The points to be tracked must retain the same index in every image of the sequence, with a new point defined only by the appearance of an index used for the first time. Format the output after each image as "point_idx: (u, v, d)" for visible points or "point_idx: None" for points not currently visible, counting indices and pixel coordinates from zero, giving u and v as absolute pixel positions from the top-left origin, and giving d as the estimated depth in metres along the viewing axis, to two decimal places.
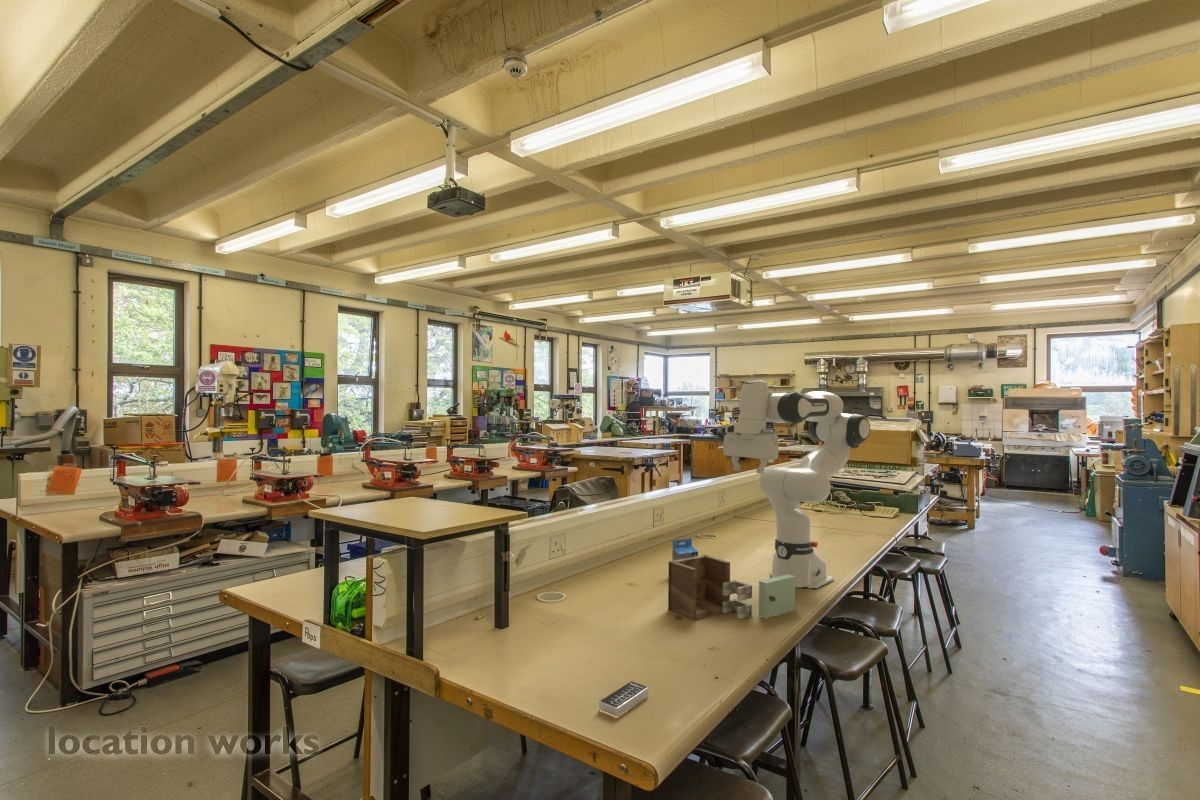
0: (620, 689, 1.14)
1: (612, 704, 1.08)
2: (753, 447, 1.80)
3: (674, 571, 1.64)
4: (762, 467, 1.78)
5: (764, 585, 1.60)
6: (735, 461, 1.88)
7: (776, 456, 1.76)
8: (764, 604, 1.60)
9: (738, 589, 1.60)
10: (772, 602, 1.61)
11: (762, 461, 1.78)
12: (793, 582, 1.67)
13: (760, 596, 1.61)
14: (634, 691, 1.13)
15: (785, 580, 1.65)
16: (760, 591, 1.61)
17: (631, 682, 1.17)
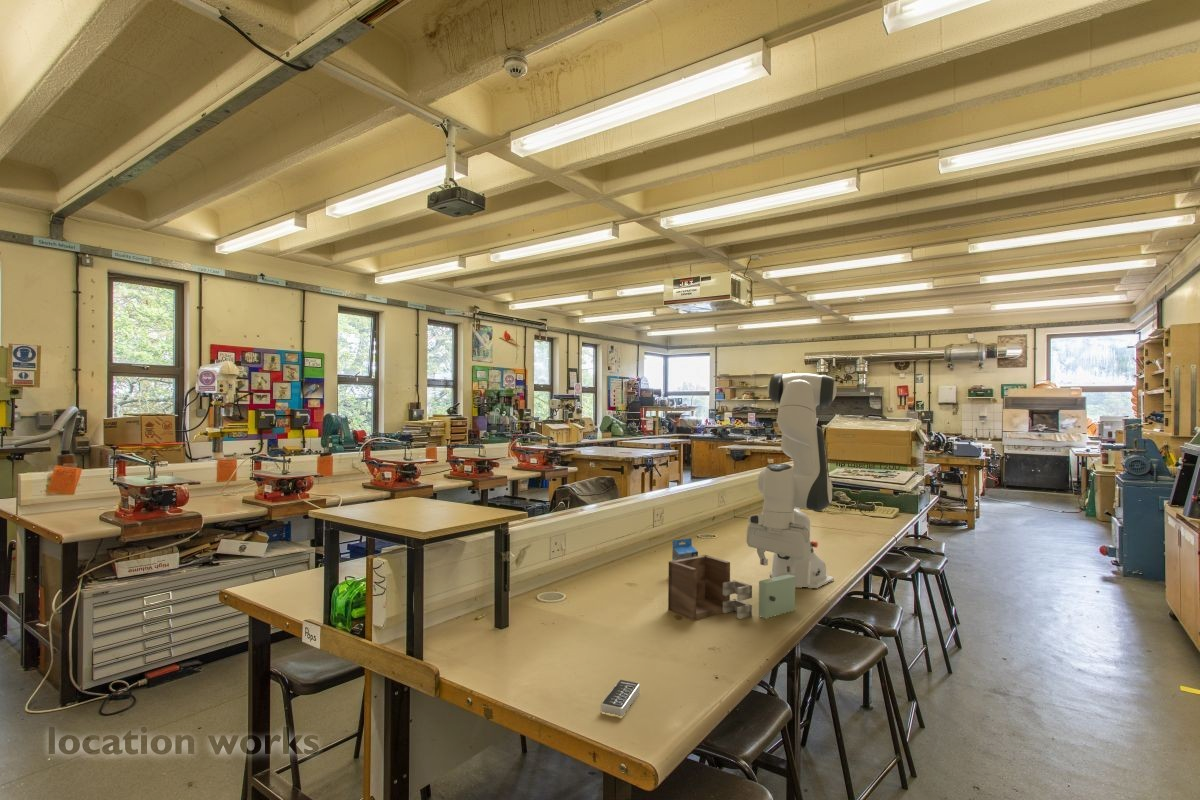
0: (614, 689, 1.14)
1: (615, 705, 1.07)
2: (782, 543, 1.61)
3: (674, 571, 1.64)
4: (793, 566, 1.59)
5: (764, 585, 1.60)
6: (761, 554, 1.69)
7: (809, 555, 1.56)
8: (764, 604, 1.60)
9: (738, 589, 1.60)
10: (772, 602, 1.61)
11: (793, 560, 1.59)
12: (793, 582, 1.67)
13: (760, 596, 1.61)
14: (629, 689, 1.14)
15: (785, 580, 1.65)
16: (760, 591, 1.61)
17: (621, 681, 1.17)
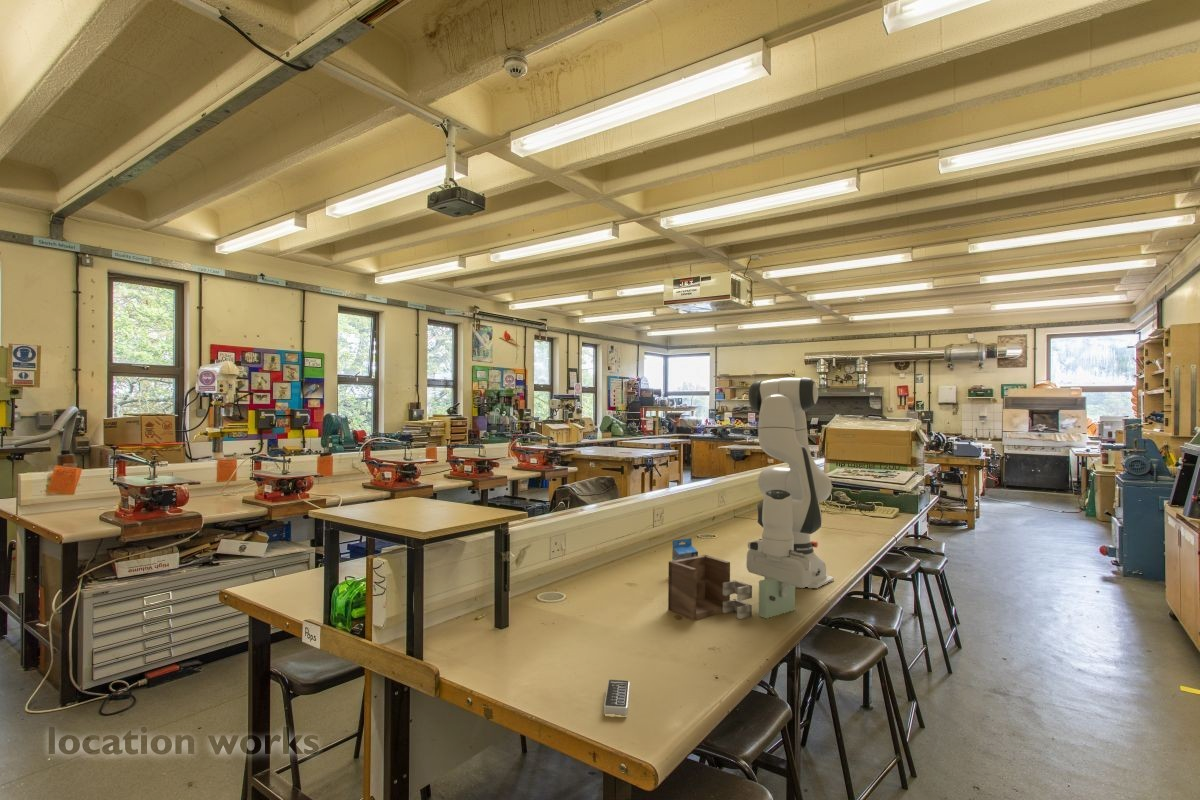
0: (609, 689, 1.13)
1: (619, 705, 1.07)
2: (781, 570, 1.61)
3: (674, 571, 1.64)
4: (785, 591, 1.62)
5: (764, 585, 1.60)
6: None
7: (808, 583, 1.57)
8: (764, 604, 1.60)
9: (738, 589, 1.60)
10: (772, 602, 1.61)
11: (785, 585, 1.61)
12: None
13: (760, 596, 1.61)
14: (622, 688, 1.14)
15: None
16: (760, 591, 1.61)
17: (610, 680, 1.17)
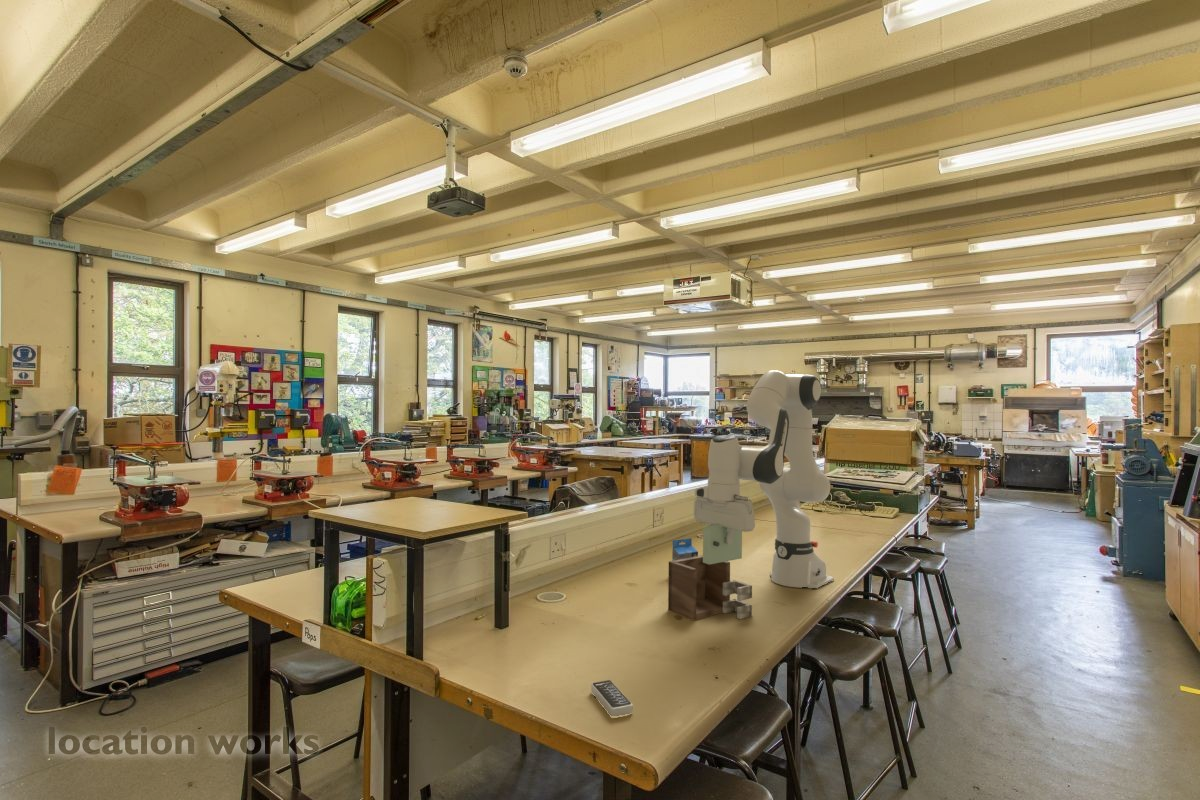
0: (601, 692, 1.12)
1: (624, 704, 1.08)
2: (726, 515, 1.57)
3: (674, 571, 1.64)
4: (730, 537, 1.58)
5: (708, 530, 1.56)
6: None
7: (752, 527, 1.52)
8: (708, 549, 1.56)
9: (738, 589, 1.60)
10: (716, 548, 1.57)
11: (729, 531, 1.57)
12: None
13: (704, 541, 1.57)
14: (611, 687, 1.14)
15: None
16: (704, 536, 1.57)
17: (594, 683, 1.16)
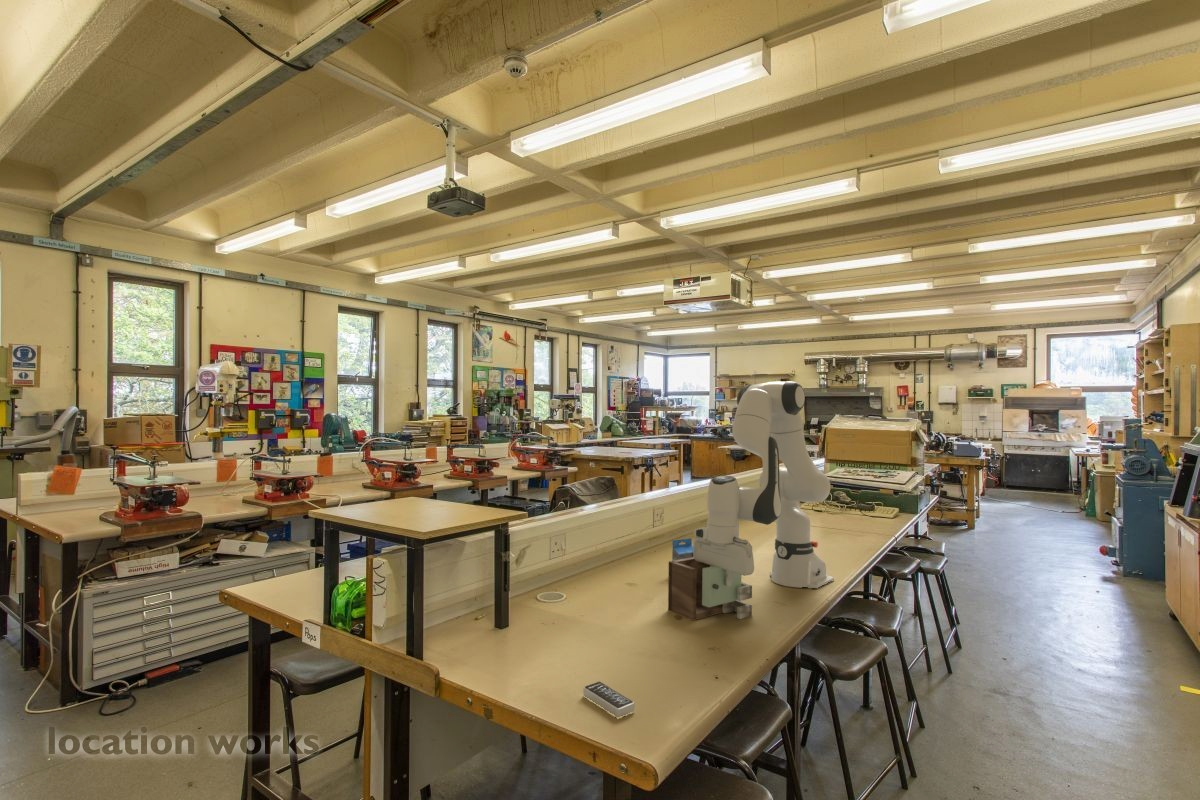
0: (598, 694, 1.11)
1: (626, 703, 1.08)
2: (725, 558, 1.57)
3: (674, 571, 1.64)
4: (729, 579, 1.57)
5: (707, 573, 1.56)
6: None
7: (752, 571, 1.52)
8: (707, 592, 1.55)
9: (738, 589, 1.60)
10: (716, 590, 1.57)
11: (729, 573, 1.57)
12: None
13: (703, 584, 1.57)
14: (605, 689, 1.14)
15: None
16: (703, 579, 1.57)
17: (586, 687, 1.14)
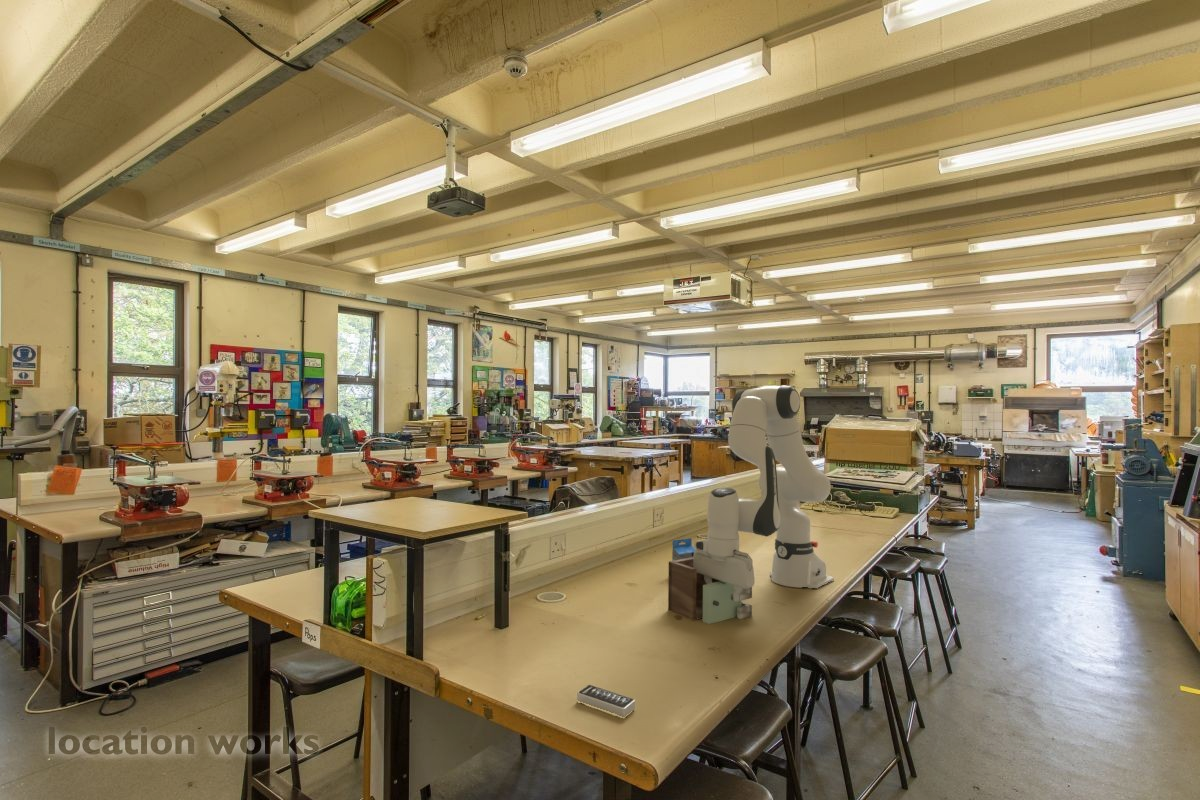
0: (597, 697, 1.10)
1: (628, 701, 1.09)
2: (726, 571, 1.57)
3: (674, 571, 1.64)
4: (737, 594, 1.55)
5: (707, 589, 1.56)
6: (708, 581, 1.64)
7: (752, 584, 1.52)
8: (708, 609, 1.55)
9: None
10: (716, 607, 1.57)
11: (736, 588, 1.54)
12: None
13: (704, 601, 1.57)
14: (599, 691, 1.13)
15: (730, 584, 1.60)
16: (704, 595, 1.57)
17: (580, 692, 1.12)
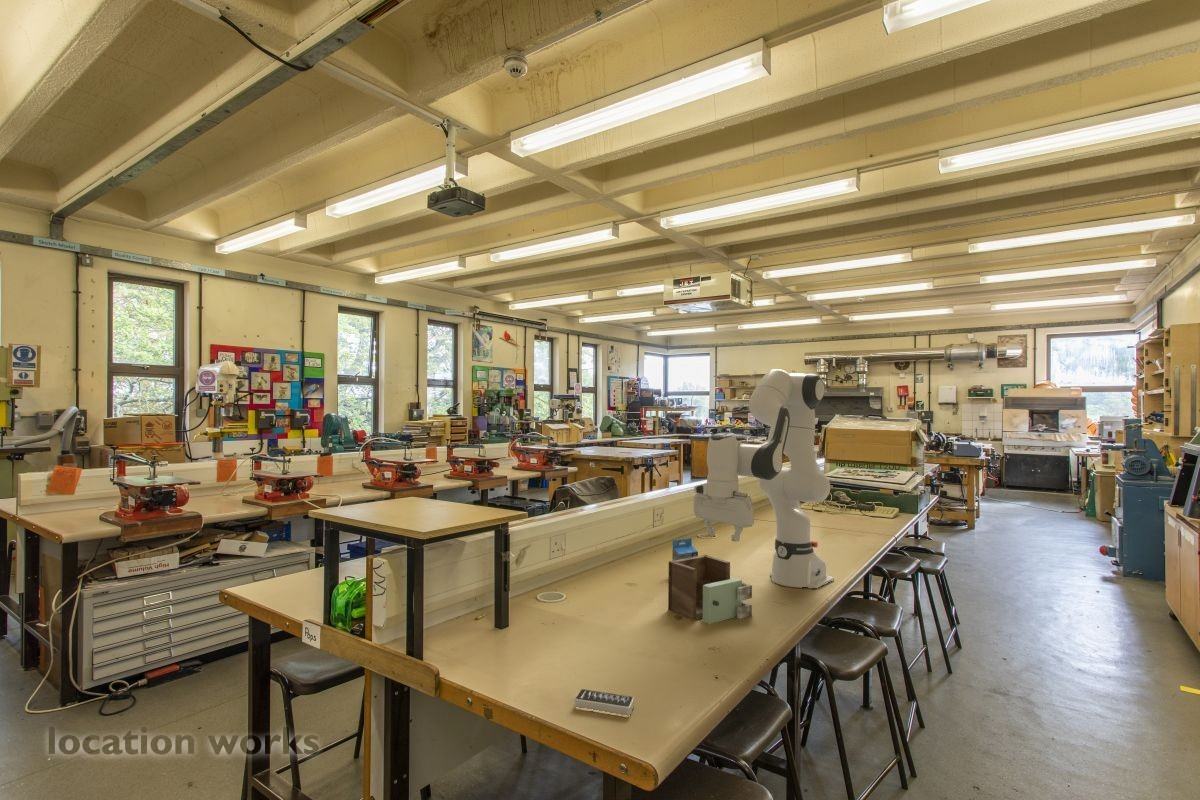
0: (597, 701, 1.09)
1: (629, 699, 1.10)
2: (726, 512, 1.60)
3: (674, 571, 1.64)
4: (737, 534, 1.58)
5: (707, 589, 1.56)
6: (708, 524, 1.67)
7: (752, 523, 1.55)
8: (708, 609, 1.55)
9: (738, 589, 1.60)
10: (716, 607, 1.57)
11: (737, 528, 1.57)
12: (739, 586, 1.62)
13: (704, 601, 1.57)
14: (595, 694, 1.12)
15: (730, 584, 1.60)
16: (704, 595, 1.57)
17: (578, 698, 1.10)
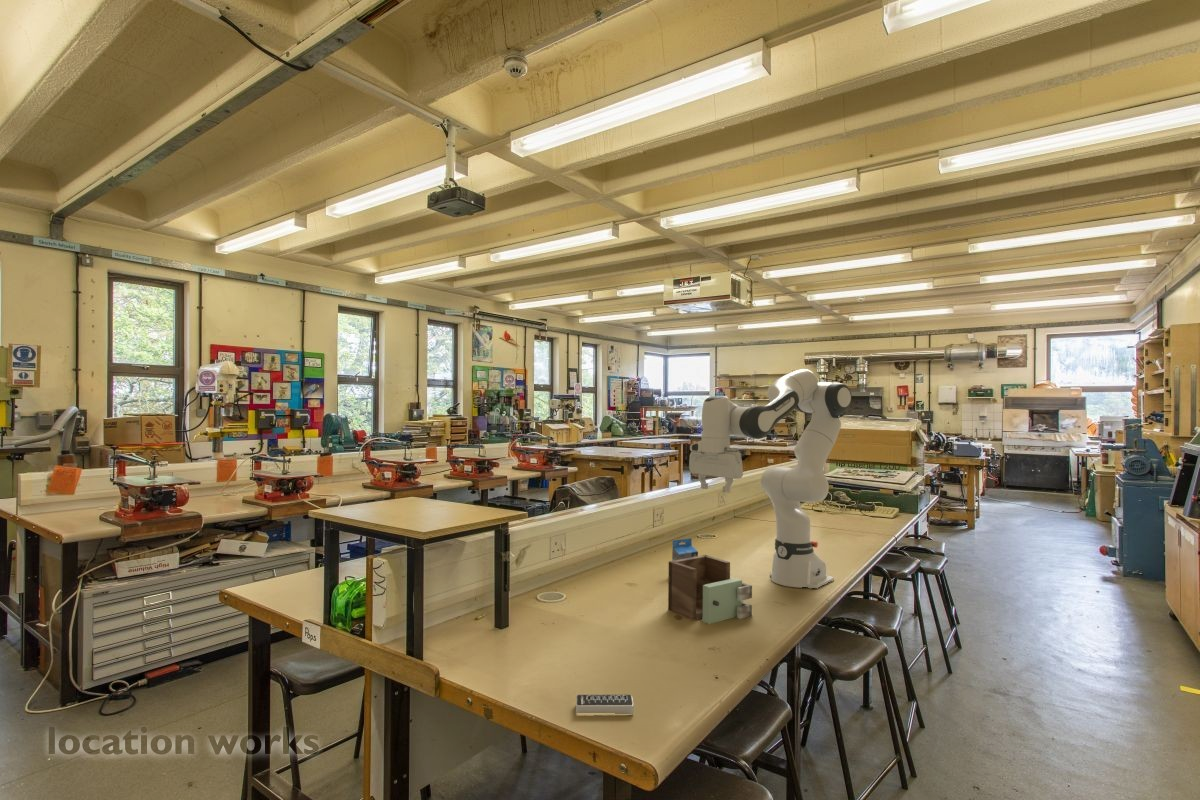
0: (599, 704, 1.08)
1: (628, 698, 1.10)
2: (718, 466, 1.77)
3: (674, 571, 1.64)
4: (728, 486, 1.75)
5: (707, 589, 1.56)
6: (702, 479, 1.84)
7: (741, 475, 1.72)
8: (708, 609, 1.55)
9: (738, 589, 1.60)
10: (716, 607, 1.57)
11: (727, 480, 1.74)
12: (739, 586, 1.62)
13: (704, 601, 1.57)
14: (593, 697, 1.10)
15: (730, 584, 1.60)
16: (704, 595, 1.57)
17: (579, 704, 1.08)
